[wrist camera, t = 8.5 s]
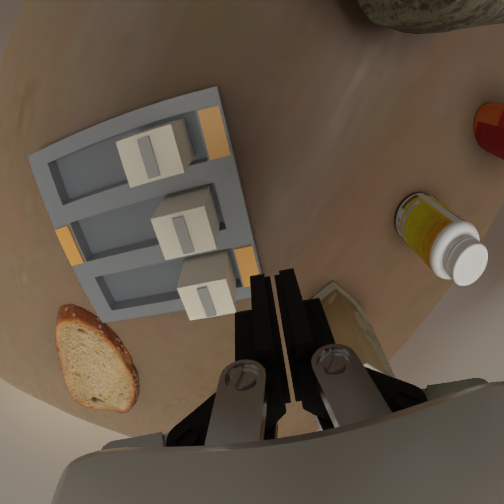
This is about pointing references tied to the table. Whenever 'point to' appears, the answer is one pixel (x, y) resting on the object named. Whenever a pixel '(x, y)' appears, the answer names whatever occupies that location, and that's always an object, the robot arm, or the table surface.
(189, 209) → the tab
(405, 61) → the table surface
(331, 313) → the skincare box
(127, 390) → the bread slice
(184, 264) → the tab
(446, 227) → the supplement bottle
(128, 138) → the beige switch slider block
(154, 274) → the switch bank
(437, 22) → the tabletop clock
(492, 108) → the paper cup
